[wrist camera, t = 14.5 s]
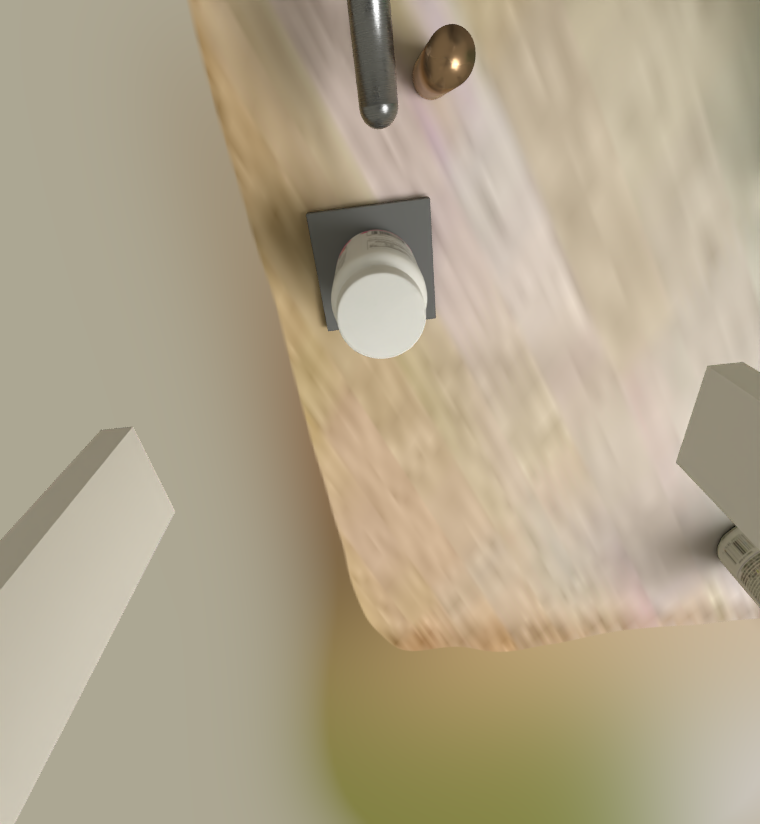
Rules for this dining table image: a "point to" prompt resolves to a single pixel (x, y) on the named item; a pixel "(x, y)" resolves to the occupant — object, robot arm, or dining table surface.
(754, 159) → the dining table surface
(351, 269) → the pill bottle
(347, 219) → the pad
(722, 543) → the spray can
